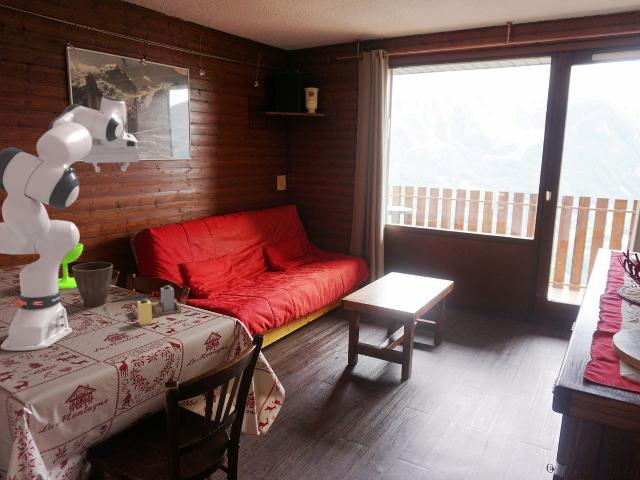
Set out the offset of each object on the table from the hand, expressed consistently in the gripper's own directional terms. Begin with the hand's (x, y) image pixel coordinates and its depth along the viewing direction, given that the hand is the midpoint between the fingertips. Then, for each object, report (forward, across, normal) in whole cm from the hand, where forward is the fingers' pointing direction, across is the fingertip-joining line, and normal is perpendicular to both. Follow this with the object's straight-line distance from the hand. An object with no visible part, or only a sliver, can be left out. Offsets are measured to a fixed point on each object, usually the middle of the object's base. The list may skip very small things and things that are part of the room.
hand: (110, 171), depth 183 cm
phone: (+50, +5, -23) cm, 55 cm away
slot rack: (+40, +8, -42) cm, 59 cm away
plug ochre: (+36, +1, -50) cm, 62 cm away
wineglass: (+67, -14, +14) cm, 70 cm away
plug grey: (+39, +12, -42) cm, 59 cm away
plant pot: (+51, -9, -18) cm, 55 cm away
